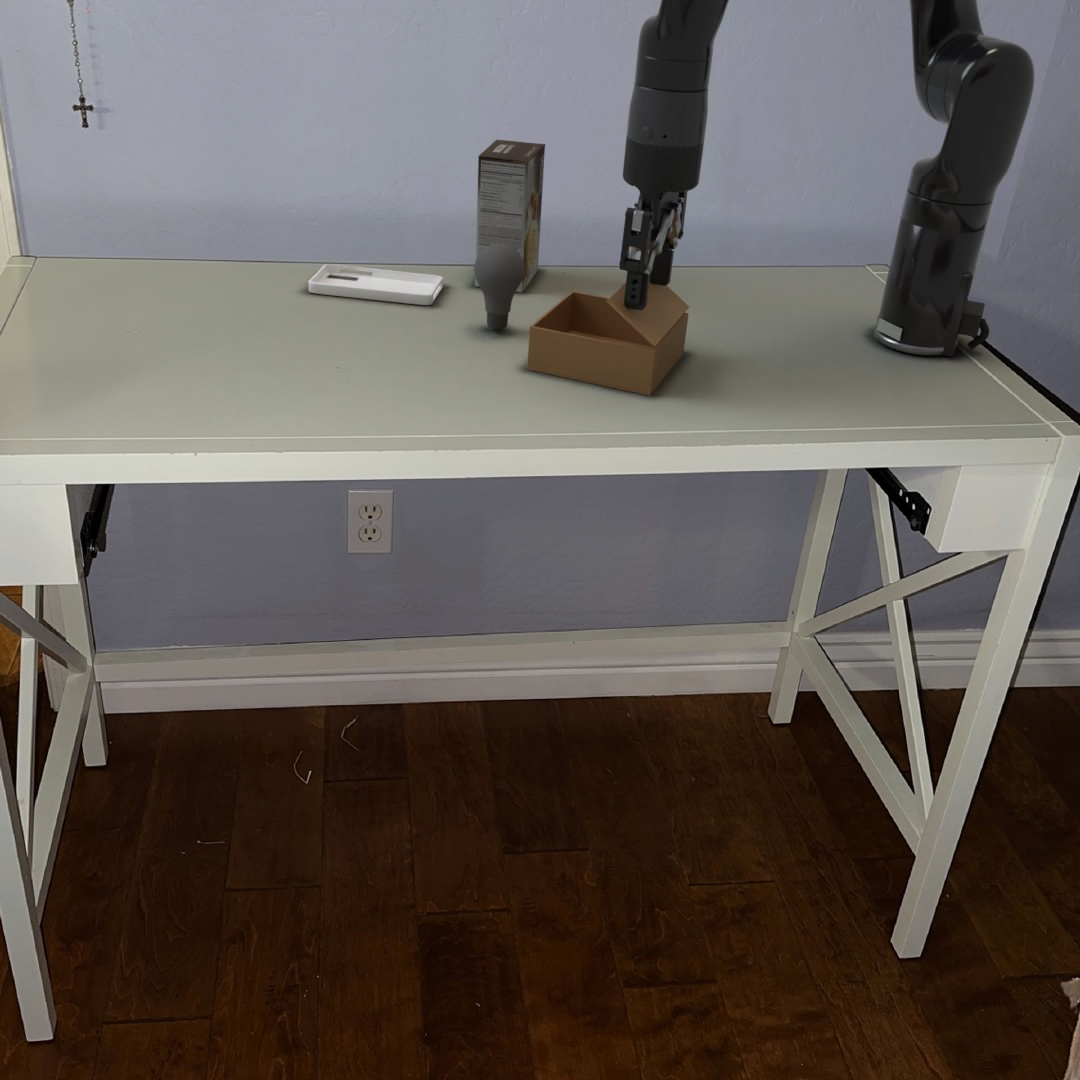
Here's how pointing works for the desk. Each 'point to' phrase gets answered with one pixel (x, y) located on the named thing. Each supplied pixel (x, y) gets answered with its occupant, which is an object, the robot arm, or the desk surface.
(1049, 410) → the desk surface
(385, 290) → the phone case
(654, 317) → the flap
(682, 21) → the robot arm
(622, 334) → the carton
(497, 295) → the light bulb
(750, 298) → the desk surface
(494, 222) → the coffee box
